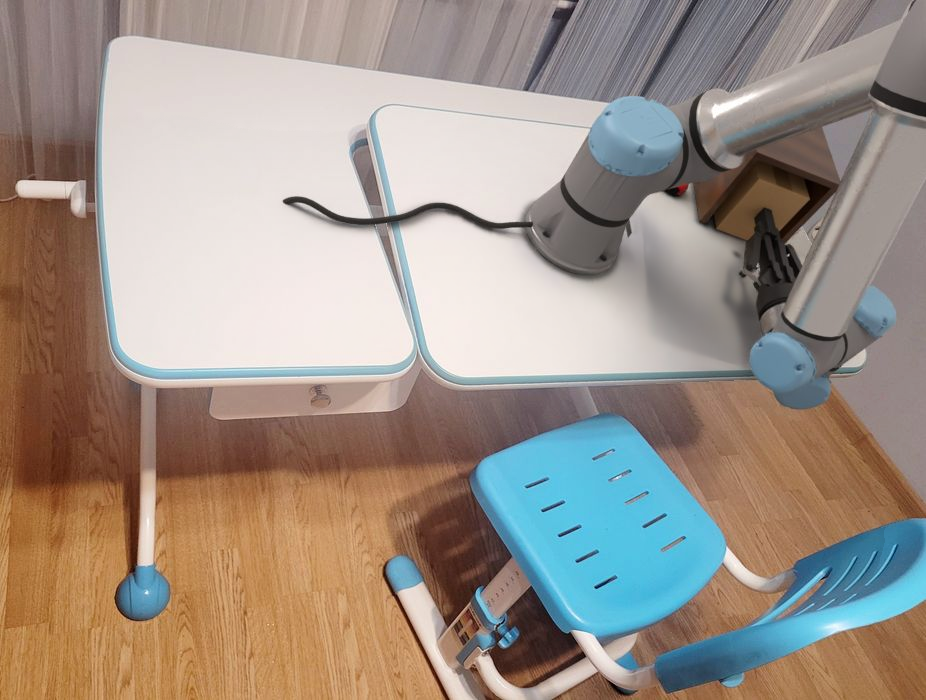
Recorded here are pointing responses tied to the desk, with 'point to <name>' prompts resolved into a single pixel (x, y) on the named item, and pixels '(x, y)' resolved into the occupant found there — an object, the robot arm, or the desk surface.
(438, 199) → the desk surface
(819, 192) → the cabinet
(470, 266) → the desk surface
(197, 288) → the desk surface
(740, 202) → the box
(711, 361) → the desk surface
